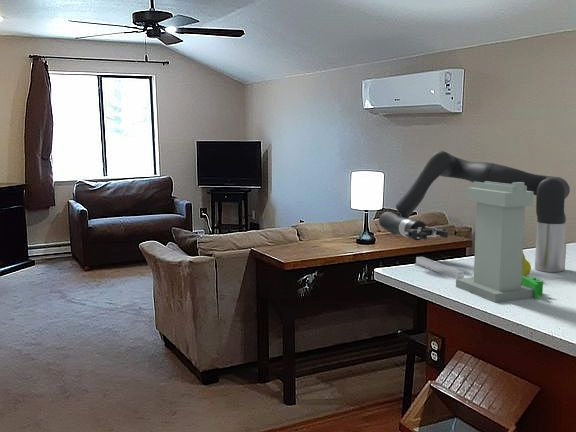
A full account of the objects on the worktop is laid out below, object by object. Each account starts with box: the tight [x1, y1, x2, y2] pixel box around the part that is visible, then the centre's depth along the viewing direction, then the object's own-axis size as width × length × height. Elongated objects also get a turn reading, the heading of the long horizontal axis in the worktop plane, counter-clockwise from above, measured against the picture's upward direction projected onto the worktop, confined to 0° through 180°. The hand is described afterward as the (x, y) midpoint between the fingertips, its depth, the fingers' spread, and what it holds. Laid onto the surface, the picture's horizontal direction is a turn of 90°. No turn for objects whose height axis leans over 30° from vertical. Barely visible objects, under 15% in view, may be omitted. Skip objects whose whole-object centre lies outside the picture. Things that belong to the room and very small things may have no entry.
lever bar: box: [415, 256, 465, 280], centre depth 209 cm, size 3×26×3 cm, turn 19°
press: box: [455, 181, 534, 303], centre depth 179 cm, size 14×19×35 cm
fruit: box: [522, 252, 532, 277], centre depth 198 cm, size 7×7×12 cm
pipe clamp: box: [521, 275, 544, 299], centre depth 179 cm, size 11×4×5 cm, turn 2°
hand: (436, 235), depth 209 cm, fingers open, 8 cm apart
